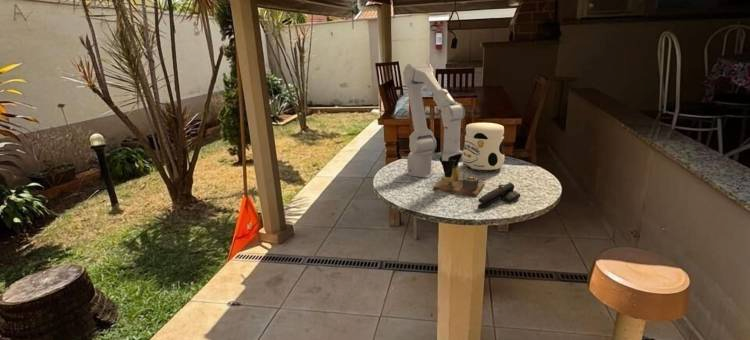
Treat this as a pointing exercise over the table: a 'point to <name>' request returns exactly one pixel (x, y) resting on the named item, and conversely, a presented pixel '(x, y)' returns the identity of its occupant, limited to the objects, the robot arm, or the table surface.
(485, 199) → the can opener
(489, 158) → the milk container
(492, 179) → the table surface
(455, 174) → the brass gear
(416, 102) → the robot arm
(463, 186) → the gear board
